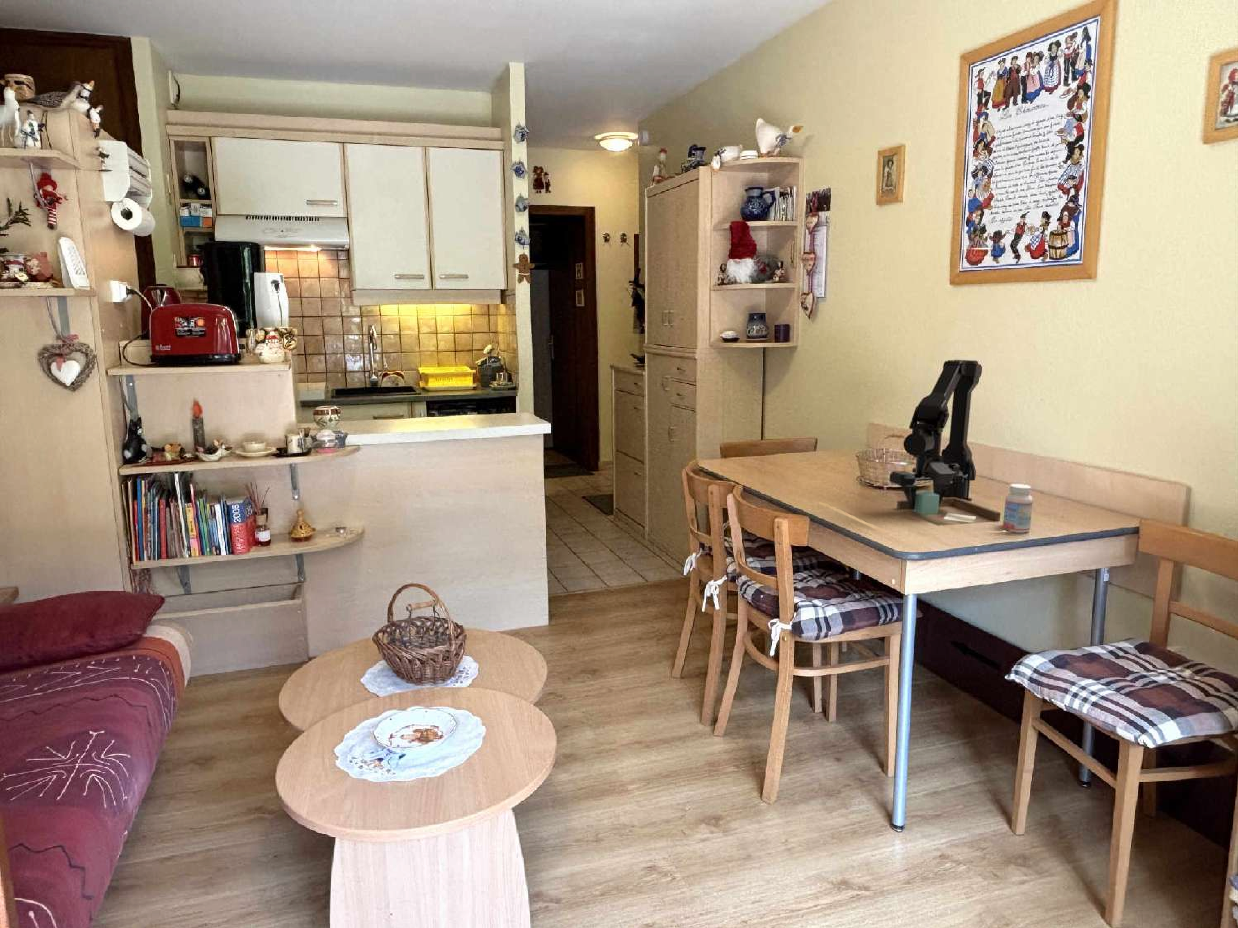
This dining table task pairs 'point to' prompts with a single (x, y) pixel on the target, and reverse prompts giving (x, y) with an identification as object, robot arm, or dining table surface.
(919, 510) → the teal block
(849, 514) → the dining table surface
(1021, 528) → the pill bottle
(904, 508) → the arena
